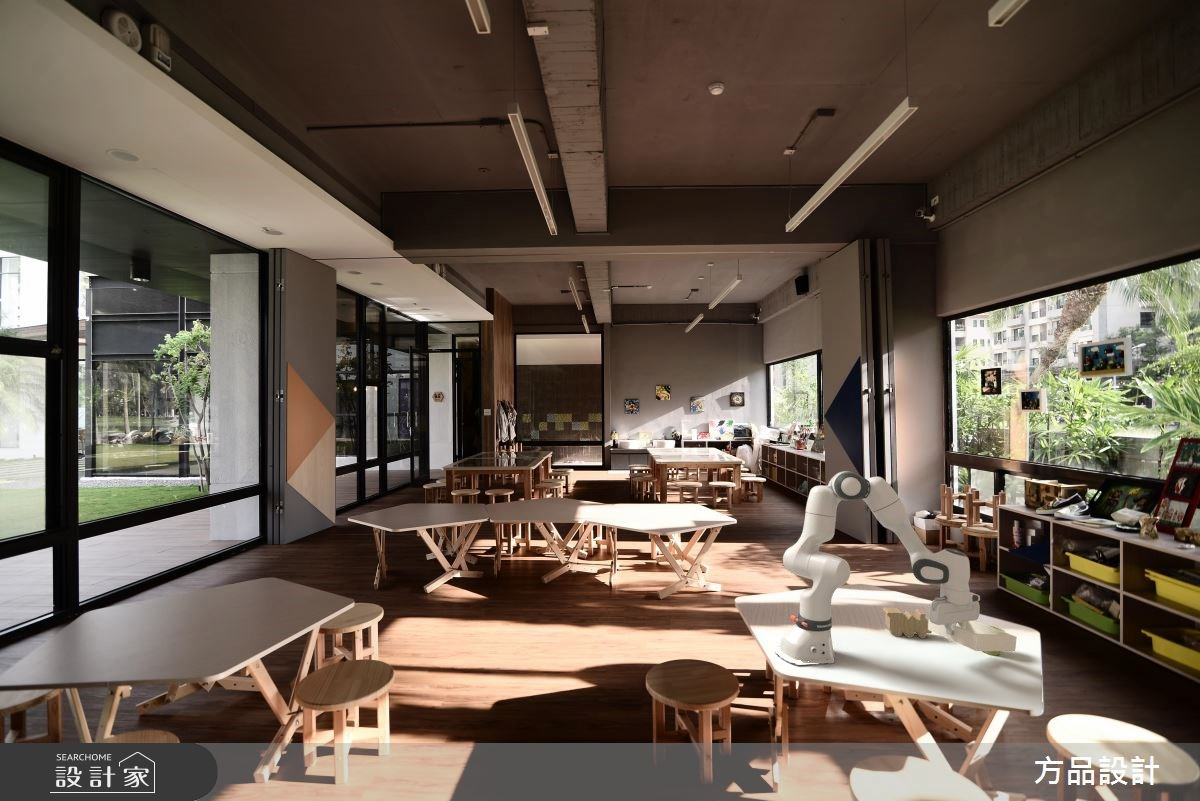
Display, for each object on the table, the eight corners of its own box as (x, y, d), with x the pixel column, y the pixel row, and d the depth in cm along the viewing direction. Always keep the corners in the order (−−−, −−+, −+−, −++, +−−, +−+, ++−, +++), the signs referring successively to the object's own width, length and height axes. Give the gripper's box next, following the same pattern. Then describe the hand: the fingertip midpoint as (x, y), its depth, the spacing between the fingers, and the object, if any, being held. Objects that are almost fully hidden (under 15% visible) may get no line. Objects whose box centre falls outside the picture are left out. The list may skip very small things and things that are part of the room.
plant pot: (1004, 650, 221) (1004, 628, 221) (1007, 660, 213) (1007, 637, 213) (975, 644, 226) (975, 623, 226) (976, 654, 218) (977, 631, 218)
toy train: (931, 639, 231) (932, 614, 231) (886, 636, 234) (887, 611, 233) (926, 633, 236) (926, 609, 236) (882, 630, 239) (882, 606, 239)
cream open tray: (976, 651, 195) (977, 636, 195) (927, 629, 213) (929, 616, 213) (1015, 651, 201) (1016, 636, 201) (964, 630, 219) (966, 617, 219)
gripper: (940, 601, 198) (939, 640, 198) (983, 595, 204) (982, 634, 204) (924, 595, 204) (923, 633, 204) (967, 590, 210) (966, 627, 210)
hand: (953, 634), depth 204 cm, fingers closed on cream open tray, 2 cm apart
